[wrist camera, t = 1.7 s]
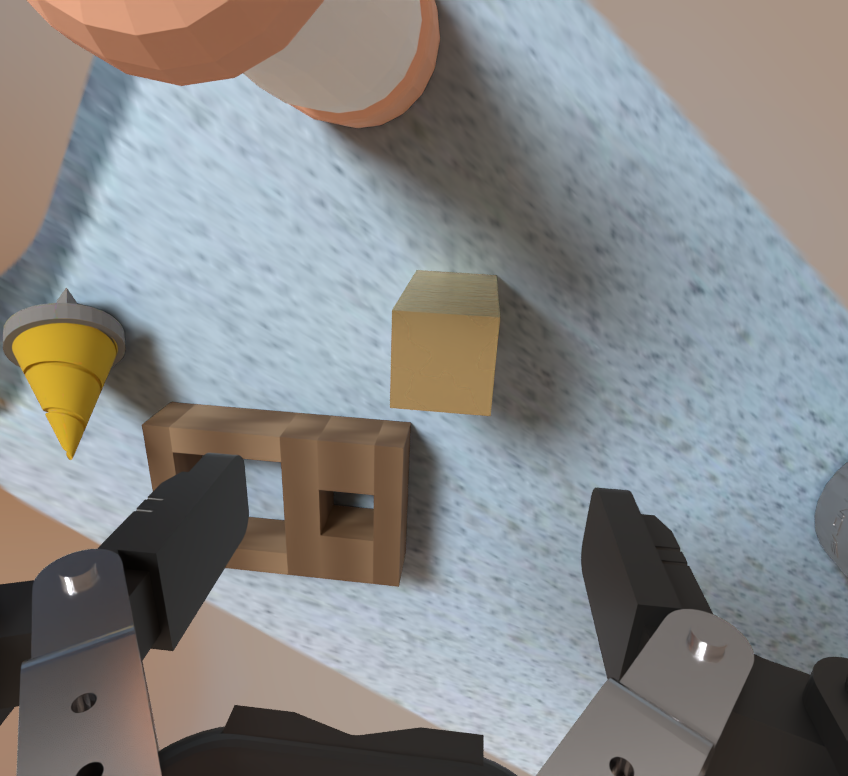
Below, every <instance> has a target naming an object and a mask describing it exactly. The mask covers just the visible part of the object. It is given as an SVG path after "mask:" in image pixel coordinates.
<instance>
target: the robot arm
mask: <svg viewBox="0 0 848 776" xmlns="http://www.w3.org/2000/svg"><path fill="white" fill-rule="evenodd" d="M248 519H249V508H248V497H247V487H246V476H245V465H244V460H243V458H242V457H241V456H240V455H231V454H219V453H206V454H205V455H204V456H203V457H202V458H201V459H200V460H199V461H198V462H197V464H196V465H195V466H194V467H193V468H192V469H191V470H190V471H189V472H180V473H178V474H177V475H175V476H173V477H171V478H169V479H168V480H166V481H164V482H162V483H161V484H160V485H159V486H158V487H157V488H156V489H155V490H154V491H153V492H152V493H151V494H150V495H149V496H148V499H147V500H144V501H143V502H142V503H141V504H140V505H139V506H138V507H137V510H136V511H134V512H133V513H132V514H131V515H130V516H129V517H128V518H127V519H126V520H125V521H124V522H123V523H122V524H121V525H120V526H119V527H118V528H117V529H116V530H115V531H114V532H113V533H112V534H111V535H110V536H109V537H108V538H107V539H106V540H105V541H104V542H103V543H102V544H101V545H100V547H99V548H98V549H88V550H82V551H78V552H74V553H71V554H68V555H66V556H63V557H61V558H60V559H57V560H55V561H54V562H52V563H51V564H49V565H48V566H46V567H45V568H44V569H43V570H42V571H41V572H40V573H39V574H38V575H37V577H36V578H35V580H32V581H25V582H16V583H8V584H0V725H1V724H2V723H3V721H4V720H5V719H6V717H7V716H8V715H9V714H10V712H11V711H12V710H13V709H14V707H16V706H19V725H18V751H17V752H18V753H17V776H517V775H516V774H514V773H513V772H511V771H510V770H509V769H507V768H505V767H503V766H501V765H499V764H498V763H496V762H494V761H491V760H489V759H486V758H484V757H483V735H479V734H471V733H462V732H454V731H446V730H437V729H429V728H413V729H405V730H397V731H389V732H382V733H374V734H366V735H350V734H347V733H345V732H342V731H340V730H337V729H335V728H332V727H330V726H327V725H325V724H322V723H320V722H317V721H315V720H312V719H310V718H307V717H305V716H302V715H300V714H297V713H295V712H288V711H280V710H272V709H263V708H255V707H247V706H238V705H235V706H234V708H233V710H232V712H231V714H230V717H229V719H228V721H227V723H226V726H225V727H218V728H214V729H210V730H206V731H202V732H199V733H196V734H194V735H191V736H188V737H185V738H183V739H181V740H179V741H177V742H175V743H172V744H170V745H169V746H167V747H165V748H163V749H162V750H159V745H158V740H157V734H156V729H155V724H154V719H153V713H152V708H151V703H150V698H149V693H148V687H147V682H146V677H145V672H144V667H143V662H142V661H143V659H144V658H145V656H146V655H147V653H148V652H149V650H150V649H159V650H168V651H173V650H174V649H175V647H176V646H177V644H178V642H179V641H180V639H181V638H182V636H183V634H184V633H185V631H186V630H187V628H188V626H189V625H190V623H191V622H192V620H193V618H194V617H195V615H196V614H197V612H198V610H199V609H200V607H201V605H202V604H203V602H204V601H205V599H206V598H207V596H208V594H209V593H210V591H211V589H212V588H213V586H214V585H215V583H216V581H217V580H218V578H219V577H220V575H221V573H222V572H223V570H224V569H225V567H226V565H227V564H228V562H229V561H230V559H231V557H232V556H233V554H234V552H235V551H236V549H237V548H238V546H239V544H240V543H241V541H242V540H243V538H244V535H245V533H246V530H247V525H248ZM815 531H816V533H817V536H818V539H819V542H820V544H821V545H822V547H823V548H824V550H825V551H826V553H827V554H828V555H829V556H830V558H831V559H832V560H833V561H834V562H835V563H836V565H837V566H838V567H839V568H840V569H841V570H842V572H843V573H844V574H845V575H846V576H847V577H848V462H847V463H846V464H845V465H843V466H842V467H841V468H840V469H839V470H838V471H837V472H836V473H835V474H834V476H833V477H832V478H831V479H830V481H829V482H828V483H827V484H826V486H825V488H824V490H823V492H822V494H821V496H820V498H819V500H818V503H817V507H816V512H815ZM581 566H582V573H583V578H584V582H585V586H586V591H587V595H588V599H589V603H590V607H591V612H592V616H593V620H594V624H595V629H596V633H597V637H598V641H599V645H600V650H601V654H602V658H603V662H604V666H605V671H606V675H607V679H608V680H607V681H606V682H605V683H604V685H603V686H602V687H601V689H600V690H599V691H598V693H597V694H596V695H595V697H594V698H593V699H592V701H591V702H590V703H589V705H588V706H587V707H586V709H585V710H584V712H583V713H582V714H581V716H580V717H579V718H578V720H577V721H576V722H575V724H574V725H573V726H572V728H571V729H570V730H569V732H568V733H567V734H566V736H565V737H564V739H563V740H562V741H561V743H560V744H559V745H558V747H557V748H556V749H555V751H554V752H553V753H552V755H551V756H550V757H549V759H548V760H547V761H546V763H545V764H544V766H543V767H542V768H541V770H540V771H539V772H538V774H537V775H536V776H848V659H847V658H842V657H828V658H824V659H821V660H820V661H818V662H817V663H816V664H815V666H814V668H813V670H812V673H811V675H809V674H806V673H803V672H801V671H798V670H795V669H792V668H789V667H786V666H783V665H780V664H777V663H774V662H771V661H769V660H766V659H764V658H761V657H759V656H757V655H755V654H754V653H753V649H752V647H751V645H750V643H749V642H748V640H747V639H746V638H745V637H744V635H743V634H742V633H741V632H740V631H739V630H737V629H736V628H735V627H734V626H733V625H731V624H730V623H728V622H727V621H725V620H723V619H721V618H720V617H717V616H715V615H713V613H712V611H711V609H710V607H709V605H708V603H707V601H706V599H705V597H704V595H703V593H702V591H701V589H700V587H699V585H698V583H697V581H696V579H695V577H694V575H693V573H692V571H691V569H690V567H689V566H687V561H686V559H685V557H684V555H683V553H682V552H680V547H679V545H678V543H677V541H676V539H675V537H674V535H673V533H672V531H671V530H670V529H669V528H668V527H666V526H665V525H664V524H663V523H662V522H661V521H660V520H659V519H658V518H657V517H656V516H654V515H644V514H641V513H640V511H639V509H638V506H637V504H636V502H635V499H634V497H633V495H632V493H631V492H630V491H629V490H618V489H607V488H594V490H593V492H592V495H591V500H590V506H589V511H588V516H587V522H586V527H585V532H584V538H583V543H582V552H581Z"/></svg>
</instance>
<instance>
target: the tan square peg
mask: <svg viewBox="0 0 848 776" xmlns="http://www.w3.org/2000/svg"><path fill="white" fill-rule="evenodd" d="M499 324H500V310H499V299H498V287H497V275H486V274H470V273H454V272H439V271H423V270H416V272H415V274H414V275H413V277H412V279H411V280H410V282H409V283H408V285H407V287H406V288H405V290H404V292H403V293H402V295H401V297H400V298H399V300H398V301H397V303H396V305H395V306H394V308H393V310H392V340H391V384H390V408H398V409H410V410H422V411H434V412H446V413H458V414H470V415H482V416H490V415H491V405H492V395H493V385H494V375H495V364H496V354H497V344H498V334H499Z"/></svg>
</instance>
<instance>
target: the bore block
mask: <svg viewBox="0 0 848 776" xmlns="http://www.w3.org/2000/svg"><path fill="white" fill-rule="evenodd" d="M410 428H411V422H399V421H388V420H376V419H364V418H352V417H341V416H329V415H317V414H305V413H293V412H282V411H270V410H258V409H246V408H235V407H223V406H211V405H199V404H188V403H176V402H170V403H169V404H168V405H167V406H165V407H164V408H163V409H161V410H160V411H159V412H158V413H156V414H155V415H154V416H152V417H151V418H150V419H149V420H147V421H146V422H145V423H144V424H142V429H143V435H144V441H145V447H146V453H147V459H148V465H149V471H150V477H151V483H152V489H153V491H154V490H155V489H156V488H157V487H158V486H159V485H160V484H161V483H162V482H164V481H166V480H168V479H169V478H171V477H173V476H175V475H177V474H178V473H180V472H189V471H190V470H191V469H192V468H193V467H194V466H195V465H196V464H197V462H198V461H199V460H200V459H201V458H202V455H205V454H206V453H219V454H231V455H240V456H241V457H242V458H243V459H252V460H263V461H274V462H281V469H282V485H283V501H284V517H285V521H284V520H274V519H264V518H254V517H249V519H248V525H247V530H246V533H245V535H244V538H243V540H242V541H241V543H240V544H239V546H238V548H237V549H236V551H235V552H234V554H233V556H232V557H231V559H230V561H229V562H228V564H227V565H226V567H225V568H231V569H241V570H250V571H259V572H268V573H278V574H287V575H296V576H305V577H315V578H324V579H333V580H342V581H352V582H361V583H370V584H379V585H389V586H398V587H399V583H400V578H401V573H402V568H403V563H404V559H405V554H406V532H407V506H408V480H409V454H410ZM333 491H336V492H347V493H357V494H368V495H374V509H369V508H359V507H349V506H338V505H334V493H333Z"/></svg>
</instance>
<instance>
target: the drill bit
mask: <svg viewBox="0 0 848 776" xmlns="http://www.w3.org/2000/svg"><path fill="white" fill-rule="evenodd" d="M3 350H4V353H5V355H6V356H7V358H8V359H9V360H10V361H11V362H13V363H14V364H15V365H17V366H19V367H21V369H22V371H23V373H24V374H25V376H26V378H27V380H28V382H29V384H30V386H31V388H32V390H33V392H34V394H35V396H36V398H37V400H38V401H39V403H40V405H41V407H42V409H43V411H45V412H49V413H46V414H45V415H46V417H47V419H48V421H49V423H50V425H51V427H52V428H53V430H54V432H55V434H56V436H57V438H58V440H59V442H60V444H61V446H62V448H63V449H64V450H65V451H67V453H66V455H67V457H68V459H69V460H71V459H72V458H73V456H74V454H75V452H76V449H77V447H78V445H79V442H80V440H81V438H82V435H83V432H84V431H85V428H86V426H87V424H88V421H89V419H90V416H91V414H92V412H93V409H94V407H95V405H96V402H97V400H98V398H99V395H100V393H101V391H102V388H103V386H104V383H105V381H106V379H107V376H108V374H109V372H110V369H111V367H113V366H114V365H116V364H117V363H118V362H119V361H120V360H121V359H122V358H123V356H124V354H125V336H124V330H123V327H122V325H121V324H120V323H119V322H118V321H117V320H116V319H115V318H114V317H112V316H111V315H109V314H107V313H106V312H104V311H102V310H99V309H96V308H93V307H89V306H85V305H80V304H77V303H76V301H75V299H74V298H73V296H72V295H71V293H70V292H69V290H68V289H67V288H66V289H65V290H64V292H63V293H62V294H61V296H60V297H59V298H58V300H57V303H49V304H41V305H36V306H32V307H29V308H26V309H23V310H21V311H19V312H17V313H16V314H14V315H12V316H11V317H10V318H9V319H8V320H7V322H6V324H5V325H4V331H3Z"/></svg>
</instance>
